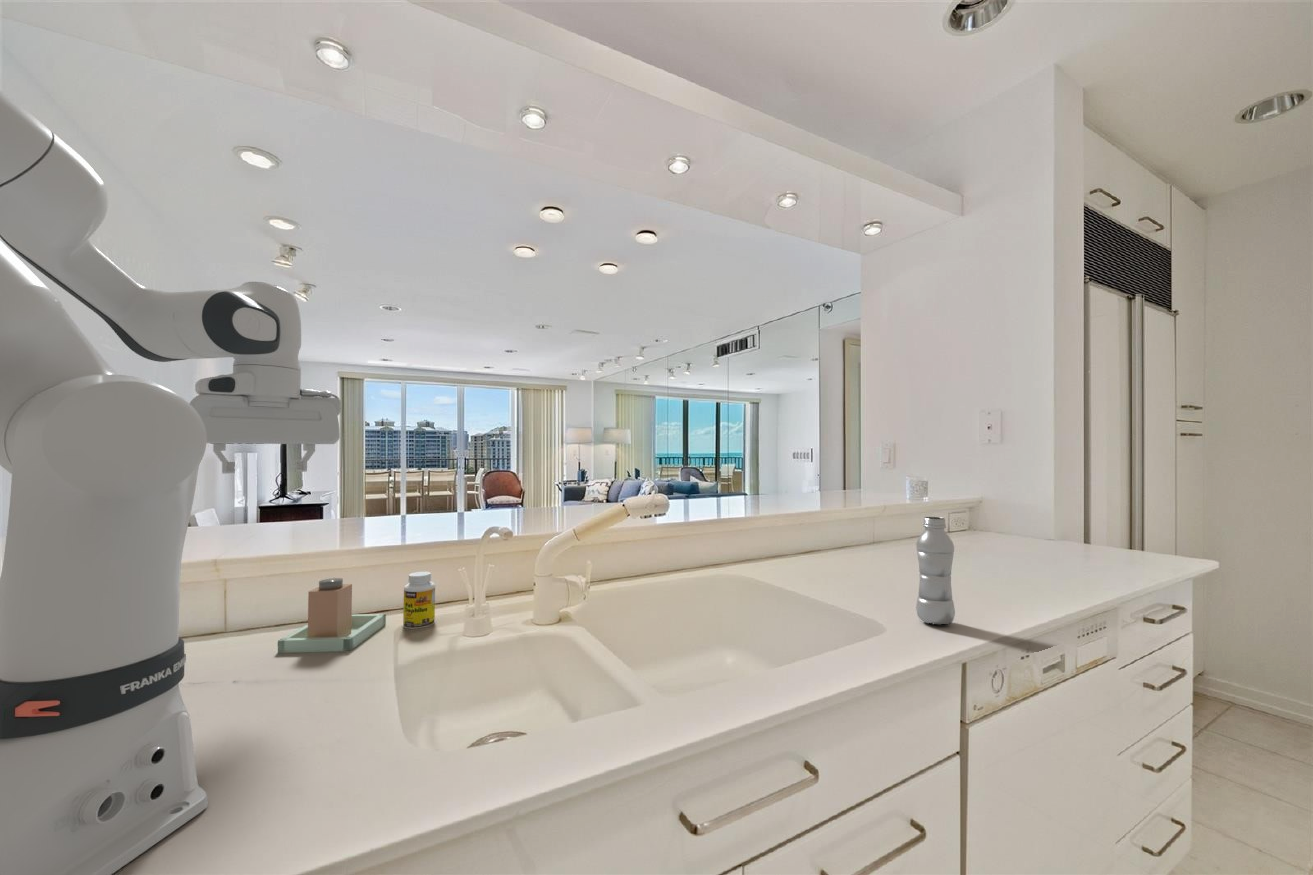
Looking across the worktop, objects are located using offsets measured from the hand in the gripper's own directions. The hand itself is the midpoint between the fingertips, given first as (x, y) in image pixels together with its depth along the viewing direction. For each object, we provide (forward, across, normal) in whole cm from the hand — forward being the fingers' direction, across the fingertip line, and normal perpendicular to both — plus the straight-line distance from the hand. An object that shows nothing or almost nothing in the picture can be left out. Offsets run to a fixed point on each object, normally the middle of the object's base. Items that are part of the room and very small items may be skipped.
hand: (265, 472), depth 84 cm
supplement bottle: (+29, -23, +3) cm, 37 cm away
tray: (+29, -10, +1) cm, 31 cm away
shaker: (+28, -9, +3) cm, 30 cm away
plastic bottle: (+30, -96, +68) cm, 121 cm away
